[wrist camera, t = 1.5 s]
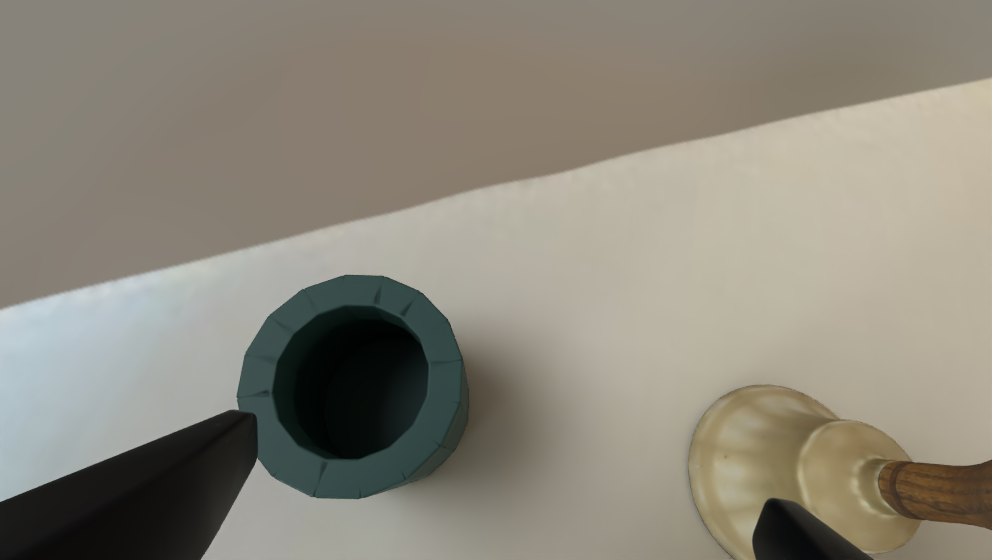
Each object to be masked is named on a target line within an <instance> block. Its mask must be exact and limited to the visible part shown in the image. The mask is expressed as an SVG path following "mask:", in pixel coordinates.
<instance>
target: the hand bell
mask: <svg viewBox="0 0 992 560" xmlns="http://www.w3.org/2000/svg"><path fill="white" fill-rule="evenodd" d="M689 478H690V485H691V489H692V494H693V498H694V501H695V503H696V506H697V508H698V511H699V513H700V515H701V517H702V519H703V521H704V523H705V525H706V526H707V528H708V530H709V531H710V533H711V534H712V536H713V537H714V538H715V539H716V541H717V542H718V543H719V544H720V545H721V546H722V547H723V549H724V550H726V551H727V552H728V553H729V554H730V555H731V556H732V557H733V558H734V559H736V560H756V559H755V555H754V552H753V547H752V536H753V532H754V529H755V526H756V524H757V521H758V519H759V516H760V513H761V511H762V508H763V506H764V504H765V502H766V501H767V500H768V499H769V498H779V499H785V500H791V501H794V502H796V503H798V504H799V505H801V506H802V507H803V508H805V509H806V510H807V511H809V512H810V513H811V514H813V515H814V516H816V517H817V518H818V519H820V520H821V521H822V522H824V523H825V524H826V525H828V526H829V527H830V528H832V529H833V530H834V531H836V532H837V533H838V534H840V535H841V536H843V537H844V538H845V539H847V540H848V541H849V542H851V543H852V544H853V545H855V546H856V547H857V548H859V549H860V550H861V551H863V552H864V553H867V554H879V553H886V552H890V551H892V550H895V549H897V548H899V547H901V546H903V545H905V544H906V543H907V542H908V541H909V540H910V539H911V538H912V537H913V535H914V534H915V533H916V531H917V529H918V527H919V525H920V523H921V520H929V521H938V522H949V523H960V524H968V525H974V526H979V527H984V528H987V529H990V530H992V460H990V461H987V462H984V463H981V464H977V465H971V466H951V465H940V464H929V463H914V462H912V461H911V459H910V458H909V456H908V455H907V454H906V452H905V451H904V450H903V449H902V448H901V447H900V446H899V445H898V444H897V443H896V442H895V441H894V440H893V439H892V438H890V437H889V436H888V435H886V434H885V433H883V432H882V431H880V430H878V429H876V428H874V427H873V426H870V425H867V424H865V423H862V422H858V421H852V420H840V419H839V418H838V417H837V416H836V415H835V414H834V413H833V412H831V411H830V410H829V409H828V408H826V407H825V406H824V405H822V404H821V403H819V402H817V401H816V400H814V399H812V398H810V397H809V396H807V395H805V394H803V393H800V392H798V391H795V390H792V389H789V388H786V387H781V386H774V385H753V386H747V387H743V388H740V389H737V390H734V391H732V392H730V393H728V394H726V395H724V396H723V397H721V398H720V399H718V400H717V401H716V402H715V403H714V404H713V405H712V406H711V407H710V408H709V409H708V410H707V412H706V413H705V414H704V415H703V417H702V418H701V420H700V422H699V423H698V425H697V428H696V430H695V432H694V435H693V439H692V443H691V446H690V451H689Z"/></svg>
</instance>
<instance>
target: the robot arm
mask: <svg viewBox="0 0 992 560" xmlns="http://www.w3.org/2000/svg"><path fill="white" fill-rule="evenodd" d="M257 455H258V427H257V417H256V415H255V414H254V413H252V412H246V411H240V410H229V411H226V412H224V413H221V414H219V415H216V416H214V417H211V418H209V419H206V420H204V421H202V422H199V423H197V424H194V425H192V426H189V427H187V428H184V429H182V430H179V431H177V432H174V433H172V434H169V435H167V436H164V437H162V438H159V439H157V440H154V441H152V442H149V443H147V444H144V445H142V446H139V447H137V448H134V449H132V450H129V451H127V452H124V453H122V454H119V455H117V456H114V457H112V458H109V459H107V460H104V461H102V462H99V463H97V464H94V465H92V466H89V467H87V468H84V469H82V470H79V471H77V472H74V473H72V474H69V475H67V476H64V477H62V478H59V479H57V480H54V481H52V482H49V483H47V484H44V485H42V486H39V487H37V488H34V489H32V490H29V491H27V492H24V493H22V494H19V495H17V496H14V497H12V498H9V499H7V500H4V501H2V502H0V560H201V558H202V557H203V555H204V554H205V552H206V551H207V549H208V548H209V546H210V544H211V543H212V541H213V539H214V537H215V536H216V534H217V532H218V530H219V529H220V527H221V525H222V523H223V521H224V520H225V518H226V516H227V514H228V512H229V510H230V509H231V507H232V505H233V503H234V501H235V500H236V498H237V496H238V494H239V492H240V491H241V489H242V487H243V485H244V483H245V481H246V480H247V478H248V476H249V474H250V472H251V471H252V469H253V467H254V465H255V462H256V459H257ZM752 547H753V552H754V555H755V559H756V560H874V559H872V558H871V557H870V556H868V555H867V554H866V553H864V552H863V551H861V550H860V549H859V548H857V547H856V546H855V545H853V544H852V543H851V542H849V541H848V540H847V539H845V538H844V537H843V536H841V535H840V534H838V533H837V532H836V531H834V530H833V529H832V528H830V527H829V526H828V525H826V524H825V523H824V522H822V521H821V520H820V519H818V518H817V517H816V516H814V515H813V514H811V513H810V512H809V511H807V510H806V509H805V508H803V507H802V506H801V505H799V504H798V503H796V502H794V501H791V500H785V499H779V498H769V499H768V500H767V501H766V502H765V504H764V506H763V508H762V511H761V513H760V516H759V519H758V521H757V524H756V526H755V529H754V532H753V536H752Z"/></svg>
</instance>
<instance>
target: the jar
mask: <svg viewBox="0 0 992 560" xmlns="http://www.w3.org/2000/svg"><path fill="white" fill-rule="evenodd" d="M237 398H238V399H237V402H238V406H239V410H240V411H246V412H252V413H254V414H255V415H256V417H257V427H258V455H257V458H258V459H259V460H260V462H261V463H262V464H263V466H264V467H265V468H266V469H267V471H268V472H269V473H270V475H271V476H272V477H274V478H275V479H277V480H279V481H281V482H283V483H285V484H287V485H289V486H291V487H293V488H295V489H297V490H299V491H301V492H303V493H305V494H307V495H309V496H311V497H316V498H333V499H360V498H366V497H369V496H372V495H375V494H379V493H382V492H385V491H388V490H391V489H394V488H397V487H400V486H403V485H405V484H408V483H410V482H413V481H415V480H418V479H420V478H422V477H425V476H427V475H430V473H432V472H433V471H434V470H435V469H436V468H438V467H439V466H440V465H441V464H442V463H443V462H444V461H445V460H446V459H447V458H448V457H449V456H450V455H451V454H452V453H453V452H454V450H455V448H456V446H457V444H458V442H459V440H460V438H461V437H462V434H463V431H464V429H465V426H466V424H467V420H468V408H469V389H468V383H467V378H466V373H465V368H464V363H463V358H462V355H461V352H460V350H459V347H458V344H457V342H456V339H455V336H454V334H453V331H452V328H451V325H450V323H449V321H448V319H447V318H446V317H445V316H444V315H443V314H442V313H441V312H440V311H439V310H438V309H437V308H436V307H435V306H434V305H433V304H432V303H431V302H430V300H429V299H428V298H427V297H426V296H425V295H424V294H423V293H421V292H420V291H418V290H416V289H413V288H411V287H409V286H407V285H404V284H402V283H400V282H397V281H395V280H393V279H390V278H388V277H384V276H369V275H344V276H340V277H337V278H334V279H331V280H328V281H325V282H322V283H319V284H316V285H313V286H310V287H308V288H305V290H304V289H302V290H301V291H299V292H298V293H297V294H296V295H294V296H293V297H292V298H291V299H289V300H288V301H287V302H286V303H284V304H283V305H282V306H281V307H279V308H278V309H277V310H275V311H274V312H273V313H272V314H270V316H268V318H267V319H266V321H265V322H264V324H263V326H262V327H261V329H260V330H259V332H258V334H257V335H256V337H255V338H254V340H253V342H252V343H251V345H250V347H249V348H248V350H247V351H246V354H245V356H244V361H243V366H242V372H241V377H240V382H239V387H238V392H237Z"/></svg>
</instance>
